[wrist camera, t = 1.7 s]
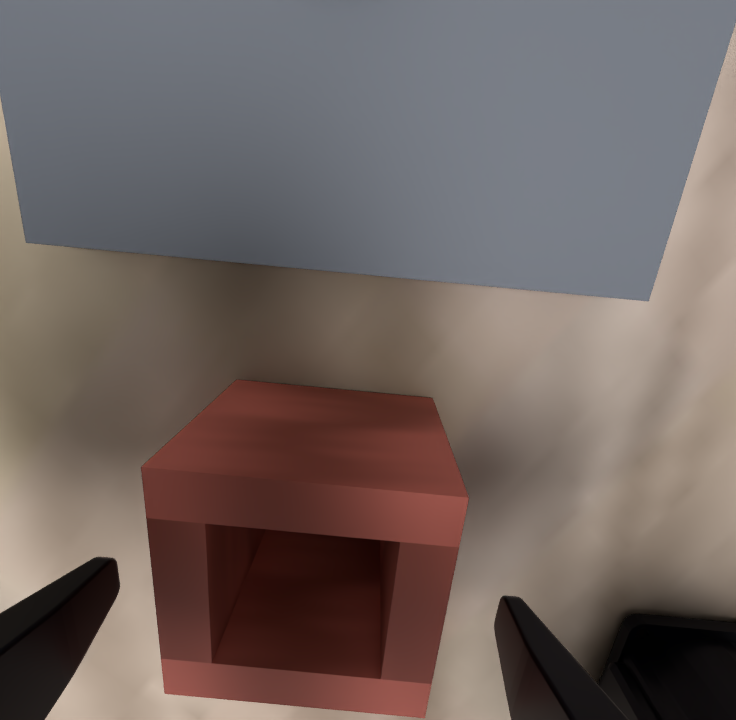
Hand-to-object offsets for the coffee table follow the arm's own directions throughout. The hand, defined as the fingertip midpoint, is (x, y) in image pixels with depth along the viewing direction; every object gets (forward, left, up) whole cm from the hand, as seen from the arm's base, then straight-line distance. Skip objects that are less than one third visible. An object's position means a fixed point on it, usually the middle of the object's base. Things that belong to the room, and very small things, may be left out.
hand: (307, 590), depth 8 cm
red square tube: (0, 0, -4) cm, 5 cm away
